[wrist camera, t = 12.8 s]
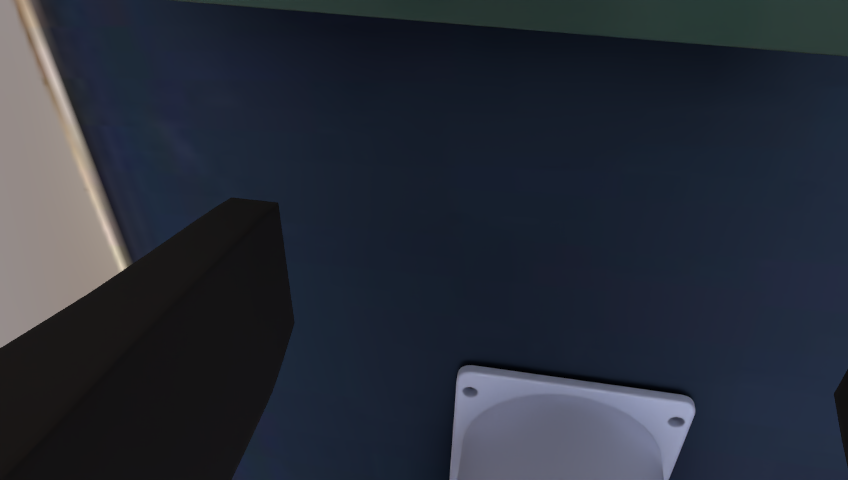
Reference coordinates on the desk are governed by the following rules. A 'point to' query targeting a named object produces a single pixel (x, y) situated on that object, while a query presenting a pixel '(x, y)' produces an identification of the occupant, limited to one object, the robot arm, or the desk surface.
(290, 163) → the desk surface
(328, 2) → the bin lid
